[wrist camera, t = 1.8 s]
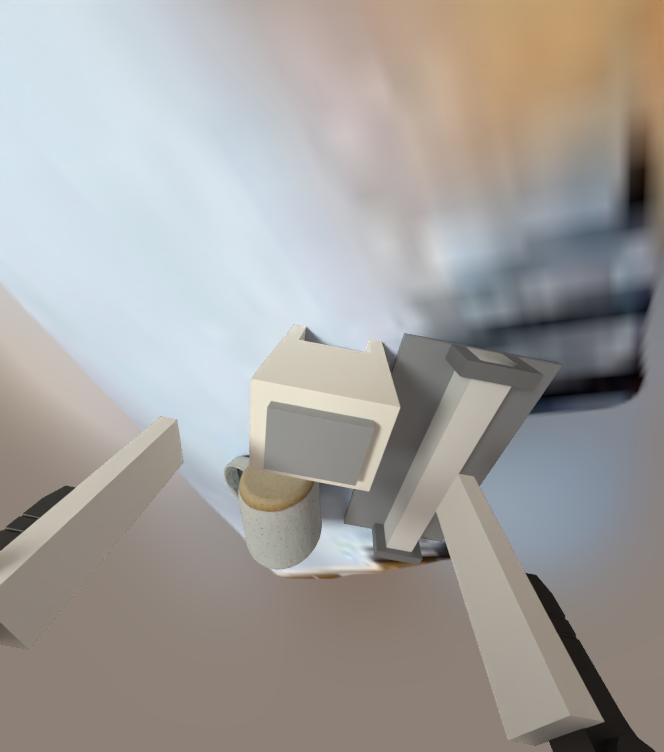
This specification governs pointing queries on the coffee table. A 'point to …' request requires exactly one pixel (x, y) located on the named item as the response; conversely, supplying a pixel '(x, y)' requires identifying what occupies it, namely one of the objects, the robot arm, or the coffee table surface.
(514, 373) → the rail base
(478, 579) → the robot arm
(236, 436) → the coffee table surface
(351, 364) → the module
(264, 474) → the ceramic mug
